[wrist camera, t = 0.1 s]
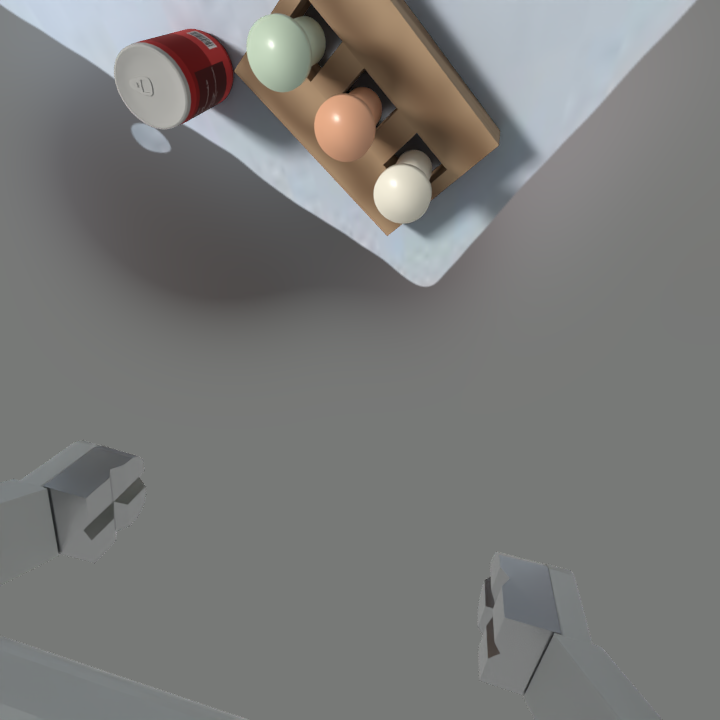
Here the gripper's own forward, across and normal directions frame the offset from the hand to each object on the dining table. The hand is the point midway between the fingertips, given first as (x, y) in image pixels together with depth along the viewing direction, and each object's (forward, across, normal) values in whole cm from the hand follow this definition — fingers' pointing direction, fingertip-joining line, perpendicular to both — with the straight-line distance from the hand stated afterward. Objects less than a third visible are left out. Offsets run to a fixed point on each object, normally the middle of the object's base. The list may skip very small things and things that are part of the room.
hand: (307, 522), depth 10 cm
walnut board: (+50, +10, -13) cm, 53 cm away
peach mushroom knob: (+45, +10, -11) cm, 48 cm away
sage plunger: (+44, +16, -16) cm, 49 cm away
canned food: (+50, +30, -14) cm, 61 cm away
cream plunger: (+47, +4, -6) cm, 47 cm away
